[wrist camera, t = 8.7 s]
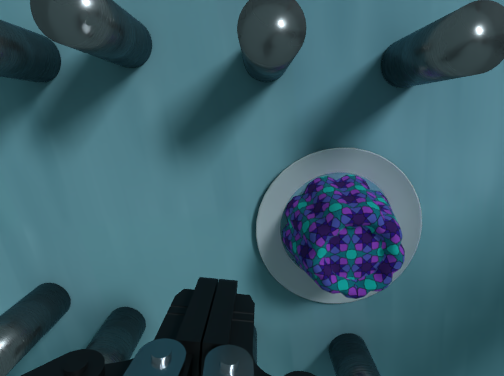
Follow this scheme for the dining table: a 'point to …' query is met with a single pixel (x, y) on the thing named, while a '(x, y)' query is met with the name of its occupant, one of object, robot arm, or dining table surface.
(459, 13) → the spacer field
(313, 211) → the pudding
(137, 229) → the dining table surface
